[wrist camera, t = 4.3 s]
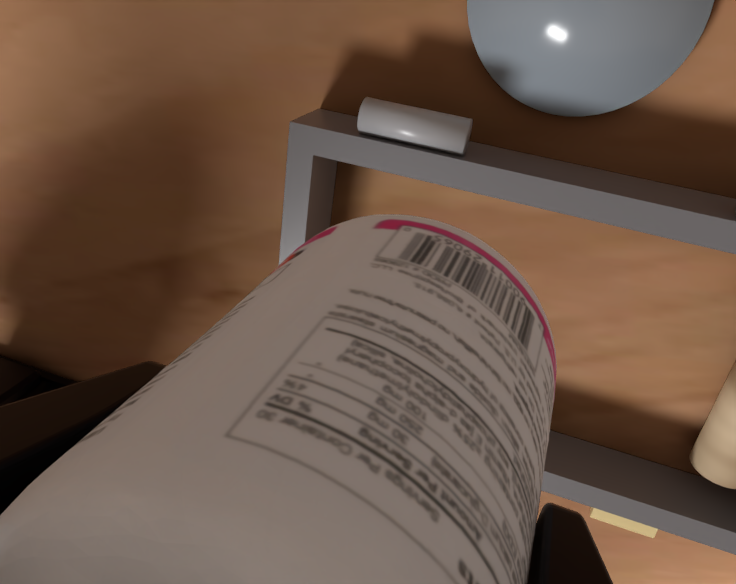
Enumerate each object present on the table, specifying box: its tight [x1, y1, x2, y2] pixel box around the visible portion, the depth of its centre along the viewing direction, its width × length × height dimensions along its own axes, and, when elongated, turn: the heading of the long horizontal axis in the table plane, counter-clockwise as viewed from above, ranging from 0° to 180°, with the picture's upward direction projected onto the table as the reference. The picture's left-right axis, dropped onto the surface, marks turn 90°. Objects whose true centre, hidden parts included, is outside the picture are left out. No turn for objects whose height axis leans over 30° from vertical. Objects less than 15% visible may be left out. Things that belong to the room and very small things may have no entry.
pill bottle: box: [0, 214, 557, 584], centre depth 7 cm, size 5×5×8 cm
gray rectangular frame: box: [279, 97, 736, 555], centre depth 20 cm, size 12×17×2 cm
